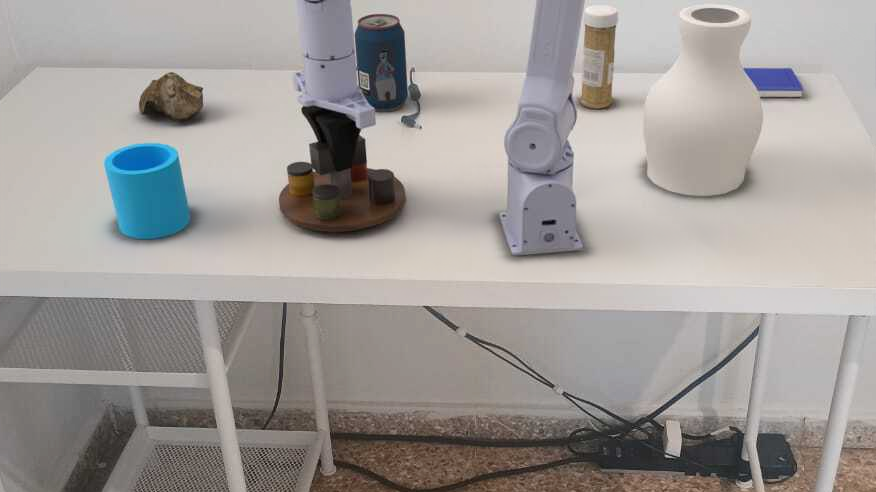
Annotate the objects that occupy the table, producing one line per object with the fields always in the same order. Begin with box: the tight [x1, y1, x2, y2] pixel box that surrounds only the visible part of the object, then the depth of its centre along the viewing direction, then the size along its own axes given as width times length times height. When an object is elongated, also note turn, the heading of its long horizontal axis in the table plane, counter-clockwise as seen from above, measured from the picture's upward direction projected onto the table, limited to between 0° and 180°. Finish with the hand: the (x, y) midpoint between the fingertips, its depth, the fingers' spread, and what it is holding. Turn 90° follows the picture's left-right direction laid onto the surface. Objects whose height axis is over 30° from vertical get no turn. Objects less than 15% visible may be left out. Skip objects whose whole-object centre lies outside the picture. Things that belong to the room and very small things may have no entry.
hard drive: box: [743, 67, 804, 98], centre depth 152 cm, size 2×8×12 cm
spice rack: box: [278, 134, 407, 233], centre depth 121 cm, size 15×15×8 cm
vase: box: [642, 3, 764, 197], centre depth 124 cm, size 14×14×20 cm
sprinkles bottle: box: [580, 4, 619, 109], centre depth 144 cm, size 5×5×14 cm
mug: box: [103, 142, 191, 240], centre depth 121 cm, size 12×8×8 cm
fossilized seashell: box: [138, 71, 204, 122], centre depth 146 cm, size 8×7×10 cm
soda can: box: [354, 13, 409, 112], centre depth 146 cm, size 7×7×12 cm
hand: (339, 165), depth 121 cm, fingers closed, pressing on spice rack
